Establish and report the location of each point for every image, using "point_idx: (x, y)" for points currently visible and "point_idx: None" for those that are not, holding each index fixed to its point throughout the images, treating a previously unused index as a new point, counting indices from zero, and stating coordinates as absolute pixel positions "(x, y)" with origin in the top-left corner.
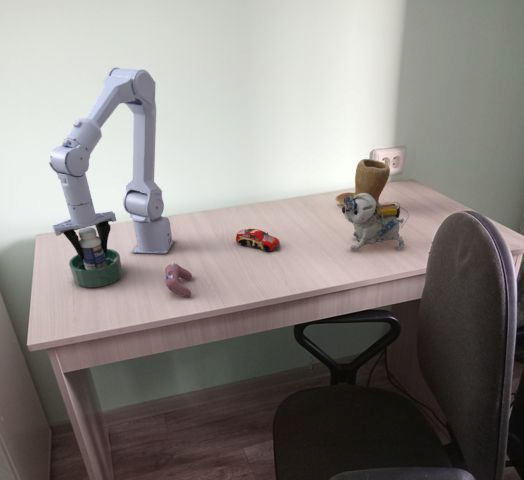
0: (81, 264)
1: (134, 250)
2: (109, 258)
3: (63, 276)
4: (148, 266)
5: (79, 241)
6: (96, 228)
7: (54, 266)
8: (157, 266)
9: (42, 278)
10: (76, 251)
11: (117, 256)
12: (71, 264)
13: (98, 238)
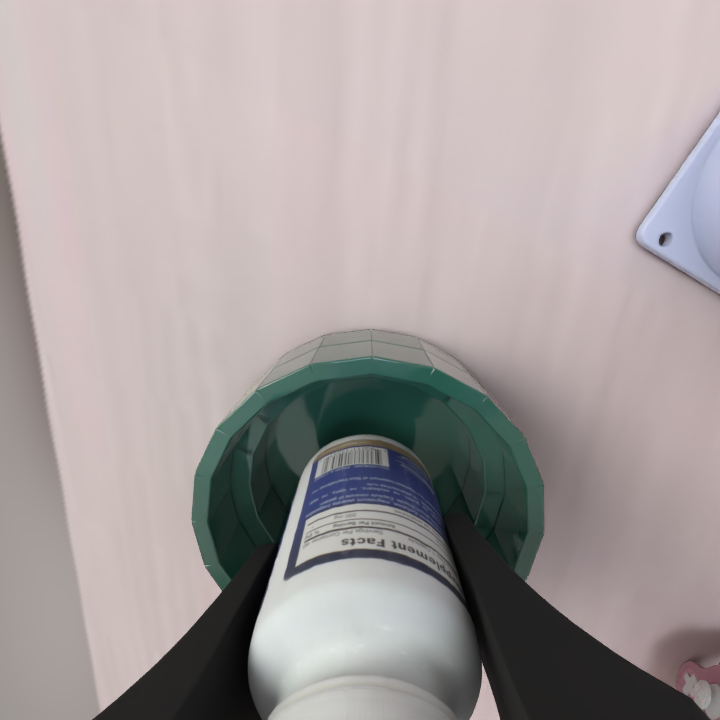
0: (277, 412)
1: (653, 224)
2: (464, 405)
3: (177, 367)
4: (641, 449)
5: (257, 703)
6: (511, 682)
7: (108, 202)
8: (683, 469)
9: (59, 340)
10: (234, 578)
11: (524, 552)
12: (208, 537)
13: (465, 718)
